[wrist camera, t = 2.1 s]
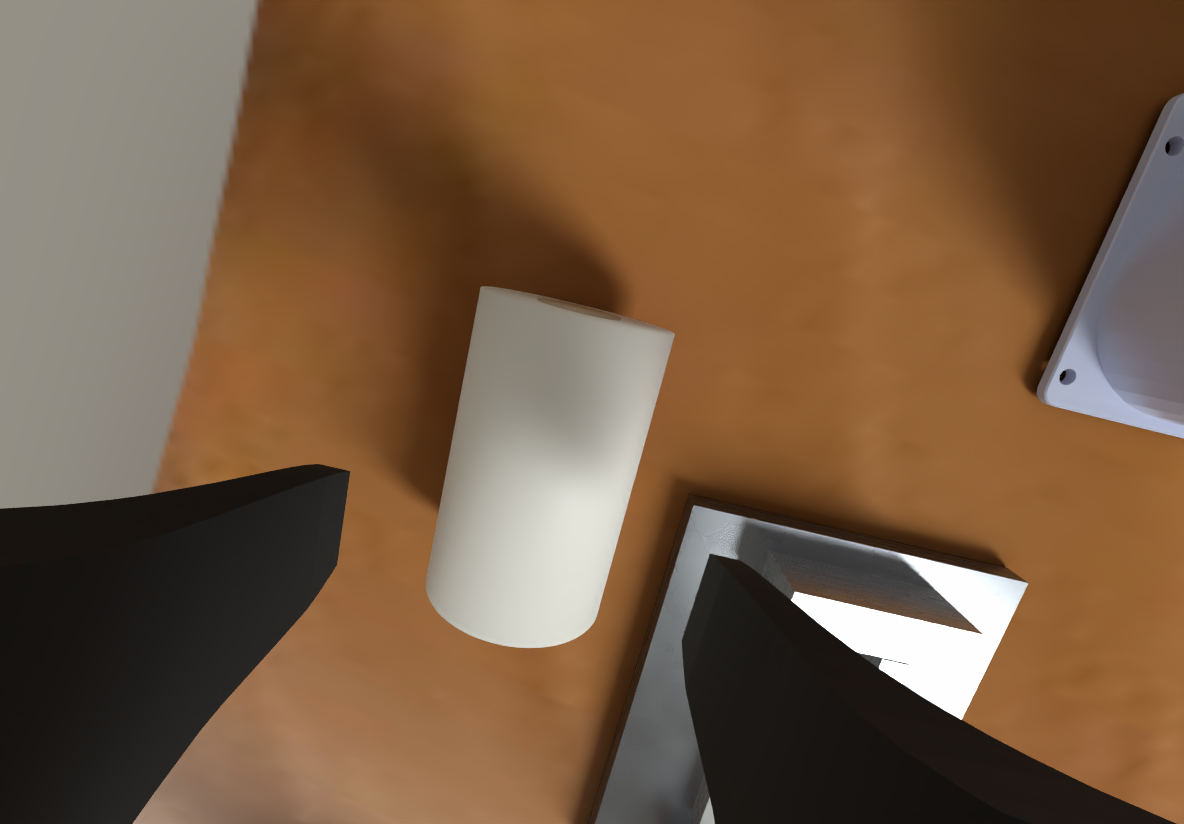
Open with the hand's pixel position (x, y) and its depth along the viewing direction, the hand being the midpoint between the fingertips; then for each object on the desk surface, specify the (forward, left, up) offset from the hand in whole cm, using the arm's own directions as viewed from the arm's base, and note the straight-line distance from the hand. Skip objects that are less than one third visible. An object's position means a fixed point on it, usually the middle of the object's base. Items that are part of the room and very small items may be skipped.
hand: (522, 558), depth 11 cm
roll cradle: (+9, +11, -8) cm, 17 cm away
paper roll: (0, 0, -9) cm, 9 cm away
